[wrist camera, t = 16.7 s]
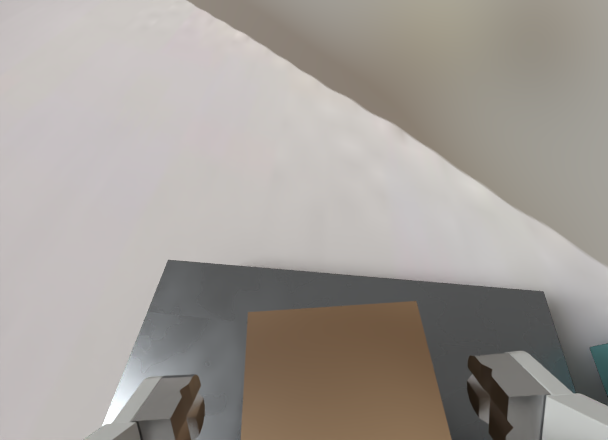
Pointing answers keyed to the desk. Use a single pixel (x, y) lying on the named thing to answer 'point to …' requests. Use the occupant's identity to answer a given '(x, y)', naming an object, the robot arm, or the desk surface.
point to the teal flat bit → (601, 362)
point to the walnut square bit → (340, 375)
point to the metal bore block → (325, 293)
